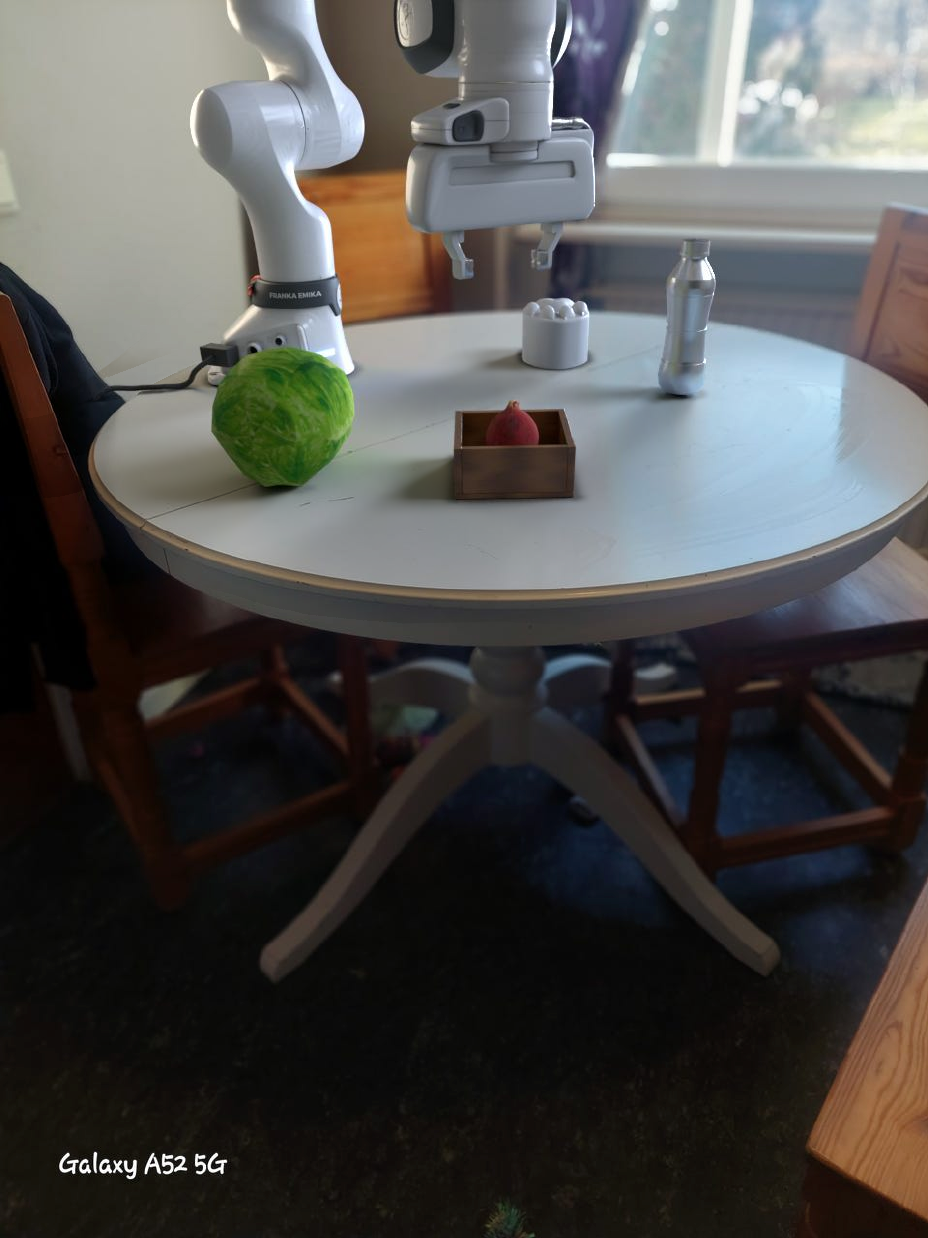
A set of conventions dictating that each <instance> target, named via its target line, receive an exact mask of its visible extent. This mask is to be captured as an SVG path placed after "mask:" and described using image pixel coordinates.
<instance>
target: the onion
mask: <svg viewBox="0 0 928 1238" xmlns="http://www.w3.org/2000/svg"><path fill="white" fill-rule="evenodd" d="M519 405H520V401H518V400H517V399H514V398H513V399H511V400H509V401H508V403H507V405H506V407H505V408H504V409H502V410H503V411H502V412H500V413H499V414H498V415H497V416H496V417H495V418H494V419H493V420H492V422H491V423H490V425H489V427H488V430H487V434H486V444H487V446H521V445H538V442H539V433H538V429H537V426H536V424H535V422H534V421H533V420H532V418H531V417H530V416H529V415H528V414H527V413H526V412H524V411H523V410H524V409H521V408H520V406H519Z"/></svg>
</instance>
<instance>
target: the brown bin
mask: <svg viewBox="0 0 928 1238" xmlns="http://www.w3.org/2000/svg"><path fill="white" fill-rule="evenodd" d="M503 410H504V409H494V410H490V409H488V410H455V412H454V431H453V432H454V433H453V476H454V477H453V478H454V499H455V500H488V499H492V500H494V499H543V498H544V499H545V498H546V499H547V498H549V499H550V498H553V499H554V498H574V496H575V477H576V476H575V475H576V457H577V456H576V455H577V454H576V453H577V446H576V443H575V439H574V436H573V432H572V430H571V426H570V422H569V420H568V416H567V414H566V410H565V408H543V409H541V408H540V409H539V408H538V409H522V410H523V411H524V412H526V413H527V414H528V415H529V416H530V417H531V418H532V420H533V421H534V422H535V424H536V426H537V429H538V433H539V442H538V445H521V446H487V444H486V434H487V430H488V427H489V425H490V423H491V422H492V420H493V419H494V418H495V417H496V416H497V415H498V414H499V413H500V412H502V411H503Z"/></svg>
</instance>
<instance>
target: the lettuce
mask: <svg viewBox="0 0 928 1238" xmlns="http://www.w3.org/2000/svg"><path fill="white" fill-rule="evenodd" d="M354 401H355V400H354V392H353V389H352V387H351V385H350V382H349V379H348V376H347V375H346V373H345V372H344V371H343V370H342V369H340V368H339V367H338V366H336V365H335V364H334V363H332V362H331V361H330V360H328V359H327V358H325V357H324V356H323V355H321V354H318V353H314V352H310V351H307V350H303V349H299V348H295V347H283V348H276V349H269V350H263V351H261V352H258V353H254V354H250V355H247V356H245V357H244V358H242V359H241V360H240V361H239V362H238V363H237V364H236V365H235V366H234V367H233V368H232V369H231V370H230V371H229V373H228V374H227V375H226V376H225V377H224V378H223V379H222V381H221V382H220V383H219V385H217V388H216V393H215V396H214V399H213V403H212V406H211V407H212V408H211V428H210V432H211V434H212V435H213V436H214V437H215V439H216V440H217V442H218V444H219V445H221V447H222V448H223V450H224V451H225V453H226V454H227V456H228V457H229V458H230V459H231V460H232V462H233V463H234V464H235V466H236V467H237V468H238V470H239V471H240V472H241V474H242V475H243V476H244V477H246V478H249V479H250V480H252V481H254V482H256V483H257V484H259V485H261V486H263V487H265V488H266V487H272V486H286V487H287V486H289V487H303V486H304V485H305V484H306V483H307V482H308V481H310V480H311V479H312V478H313V477H314V476H316V475H317V473H319V472H320V471H321V470H322V469H324V468H325V467H326V466H327V465H329V464H330V463H331V462H332V461H333V459H335V457H336V456H337V454H338V453H339V451H340V450H341V448H342V447H343V446H344V444H345V442H347V440H348V438H349V436H350V434H351V430H352V425H353V421H354V418H355V413H356V412H355V404H354Z"/></svg>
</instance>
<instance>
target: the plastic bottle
mask: <svg viewBox="0 0 928 1238" xmlns="http://www.w3.org/2000/svg"><path fill="white" fill-rule="evenodd" d="M710 246H711V240H710V239H708V238H699V237H692V238H691V237H690V238H684V239H683V238H682V239H681V242H680V250H679V253H678V255H679V256H680V259H679V261H678V262H677V263H676V264H675V266H674V267H673V268H672V270H671V271H670V272H669V274H668V276H667V279H666V282H665V290H666V292H665V293H666V309H667V310H666V328H665V329H666V332H665V333H666V334H665V340H664V343H663V351H662V357H661V359H660V363H659V366H658V371H657V379H658V386H659V388H660V389H661V390H662V391H663V392H665V393H668V394H673V395H679V396H680V395H683V396H684V395H694V394H697V393H699V392H700V391H701V390H702V389H703V387H704V386H705V385H704V384H705V381H706V377H707V366H706V365H707V364H706V334H707V329H708V328H707V325H708V323H709V318H710V317H709V316H710V311H711V307H712V304H713V299H714V295H715V291H716V286H717V281H716V277H715V274H714V272H713V269H712V267H711V265H710V263H709V261H708V258H707V257H709V256H710V253H711V252H710V248H711V247H710Z"/></svg>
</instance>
